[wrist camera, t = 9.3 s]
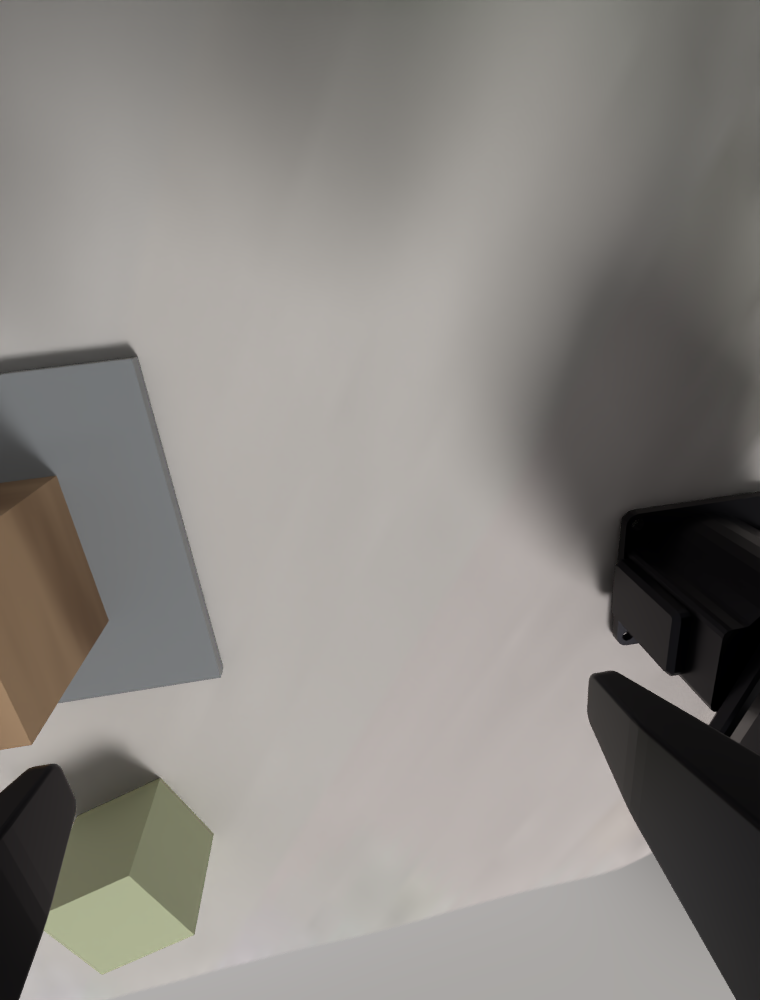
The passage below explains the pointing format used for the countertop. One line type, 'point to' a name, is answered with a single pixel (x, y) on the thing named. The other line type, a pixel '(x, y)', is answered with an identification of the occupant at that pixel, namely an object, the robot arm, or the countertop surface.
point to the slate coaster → (114, 519)
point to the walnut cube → (41, 606)
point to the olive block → (130, 878)
